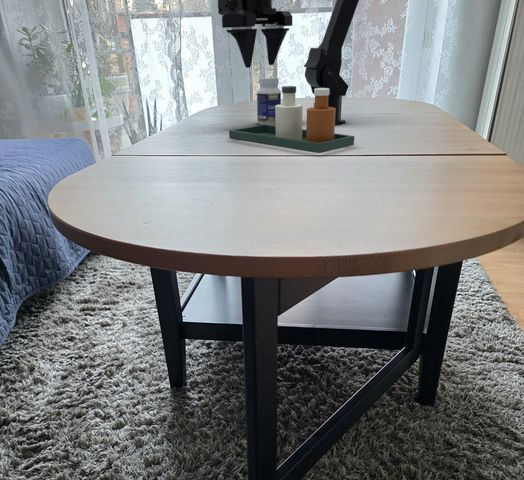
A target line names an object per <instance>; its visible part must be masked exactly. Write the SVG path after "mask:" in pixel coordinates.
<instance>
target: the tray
mask: <svg viewBox="0 0 524 480" xmlns="http://www.w3.org/2000/svg"><path fill="white" fill-rule="evenodd" d="M228 138H229V139H230V140H231V139H232V140H237V141H243V142H247V143H248V142H249V143H256V144H262V145H267V146H273V147H280V148H285V149H292V150H298V151H303V152H309V153H316V154H321V153H325V152H330V151H334V150H339V149H342V148H346V147H350V146H354V145H355V135H350V134H344V133H343V134H342V133H336V132H334V140H331V141H326V142H322V143H315V142H308V141H306V129H303V128H302V140H295V139H288V138H281V137H276V125H272V124H263V125H261V124H258V125H252V126H247V127H240V128H235V129H229V130H228Z"/></svg>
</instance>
